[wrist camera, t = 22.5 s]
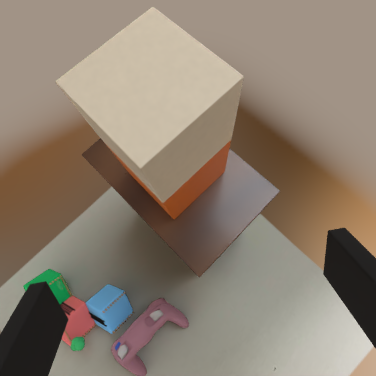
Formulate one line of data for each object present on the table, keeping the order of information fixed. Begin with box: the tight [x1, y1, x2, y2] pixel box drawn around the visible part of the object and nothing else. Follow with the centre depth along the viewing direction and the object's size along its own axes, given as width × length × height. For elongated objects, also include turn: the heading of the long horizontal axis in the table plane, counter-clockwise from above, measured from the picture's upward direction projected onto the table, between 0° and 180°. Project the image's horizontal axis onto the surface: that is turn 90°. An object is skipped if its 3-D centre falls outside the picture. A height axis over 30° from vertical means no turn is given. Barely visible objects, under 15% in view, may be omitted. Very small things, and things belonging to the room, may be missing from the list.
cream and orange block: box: [56, 7, 244, 220], centre depth 16 cm, size 6×6×11 cm
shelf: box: [82, 138, 280, 277], centre depth 32 cm, size 14×9×22 cm, turn 45°
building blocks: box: [23, 269, 134, 351], centre depth 37 cm, size 8×8×12 cm
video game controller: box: [111, 298, 189, 376], centre depth 35 cm, size 10×5×7 cm, turn 136°
